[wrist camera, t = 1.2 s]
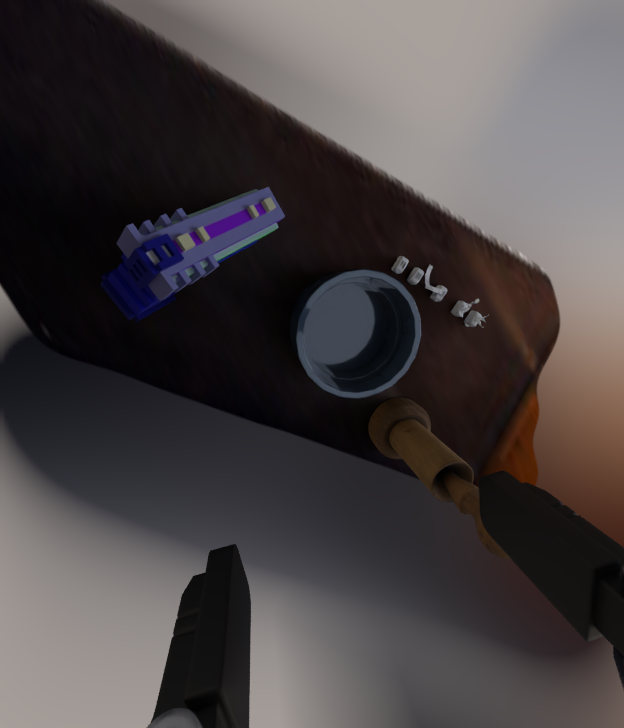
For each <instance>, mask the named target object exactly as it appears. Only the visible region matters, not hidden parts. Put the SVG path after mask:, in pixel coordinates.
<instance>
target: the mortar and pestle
mask: <svg viewBox="0 0 624 728" xmlns="http://www.w3.org/2000/svg"><path fill="white" fill-rule="evenodd" d="M368 430H369V436H370V438H371V440H372V442H373V443H374V444H375V446H376V447H377V448H378V449H379V451H380V452H381V453H382V454H384V455H385V456H387V457H389V458H393V459H403V460H404V461H405V462H406V463H407V464H408V466H409V467H410V468H411V469H412V470H413V471H414V473H415V474H416V475H417V476H418V477H419V479H420V480H421V481H422V482H423V483H424V485H425V486H426V487H427V488H428V489H429V491H430V492H431V493H432V494H433V495H434V497H435V498H437V499H438V500H440V501H442V502H453V501H454V503H455V505H456V506H457V508H458V509H459V510H460V512H462V513H464V514H471V515H472V516H473V517H474V519H475V523H476V528H477V533H478V536H479V538H480V540H481V542H482V544H483V545H484V546H485V547H486V548H487V549H488V550H489V551H490V552H491V553H493V554H495V555H496V556H499V557H501V558H506V559H511V558H510V557H509V556H508V555H507V554H506V553H505V552H504V551H503V550H502V548H501V547H500V546H499V545H498V544H497V543H496V542H495V541H494V540H493V539H492V538H491V536H490V535H489V534H488V533H487V531H486V529H485V528H484V526H483V523H482V521H481V517H480V501H479V488H478V487H476V486H475V485H473V484H472V483H473V478H474V475H473V471H472V468H471V467H470V466H469V465H468V464H467V463H466V462H465V461H463V460H462V459H461V458H460V457H459V456H458V455H456V454H455V453H454V452H453V451H452V450H450V449H449V448H448V447H447V446H446V445H445V444H443V443H442V442H441V441H440V440H439V439H438V438H437V437H435V436H434V435H433V434H432V433H431V432H430V430H431V423H430V419H429V416H428V414H427V413H426V412H425V410H424V409H422V408H421V407H420V406H419V405H417V404H416V403H415V402H414V401H412V400H410V399H407V398H401V397H399V398H392V399H389V400H387V401H385V402H383V403H382V404H381V405H379V406H378V407H377V409H376V410H375V412H374V413H373V414H372V416H371V418H370V421H369V427H368Z"/></svg>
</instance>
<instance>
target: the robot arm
mask: <svg viewBox="0 0 624 728" xmlns="http://www.w3.org/2000/svg"><path fill="white" fill-rule="evenodd" d="M479 501H480V517H481V521H482V523H483V526H484V528H485V529H486V531H487V533H488V534H489V535H490V536H491V538H492V539H493V540H494V541H495V542H496V543H497V544H498V545H499V546H500V547H501V548H502V550H503V551H504V552H505V553H506V554H507V555H508V556H509V557H510V558H511V559H512V560H513V562H514V563H515V564H516V565H517V566H518V567H519V568H520V569H521V570H522V571H523V572H524V574H525V575H526V576H527V577H528V578H529V579H530V580H531V581H532V582H533V583H534V584H535V586H536V587H537V588H538V589H539V590H540V591H541V592H542V593H543V594H544V595H545V597H546V598H547V599H548V600H549V601H550V602H551V603H552V604H553V605H554V606H555V607H556V608H557V610H558V611H559V612H560V613H561V614H562V615H563V616H564V617H565V618H566V619H567V621H569V623H570V624H571V625H572V626H573V627H574V628H575V629H576V630H577V632H578V633H579V634H580V635H581V636H582V637H583V638H584V639H585V640H586V641H587V642H589V641H592V640H595V639H598V638H600V637H603V636H604V637H605V638H606V639H607V640H608V641H609V642H610V643H611V644H612V645H613V655H614V660H615V663H616V667H617V670H618V673H619V677H620V680H621V683H622V687H623V690H624V548H623V547H622V546H621V545H619V544H618V543H617V542H615V541H614V540H613V539H611V538H610V537H608V536H607V535H606V534H604V533H603V532H602V531H600V530H599V529H597V528H596V527H595V526H593V525H592V524H591V523H589V522H588V521H586V520H585V519H584V518H582V517H581V516H579V515H578V516H577V515H576V513H575V512H574V511H573V510H571V509H570V508H569V507H567V506H566V505H563V504H562V502H560V501H559V500H558V499H556V498H555V497H554V496H552V495H551V494H549V493H548V492H547V491H545V490H542V489H540V488H538V487H536V486H533V485H531V484H529V483H521V482H519V481H518V480H517V479H515V478H514V477H513V476H512V475H510V474H509V473H507V472H505V471H500V472H496V473H493V474H489V475H485V476H482V477H480V479H479ZM177 616H178V618H177V620H176V623H175V627H174V632H173V634H174V636H173V637H172V640H171V644H170V649H169V653H168V657H167V662H166V666H165V670H164V674H163V679H162V683H161V688H160V692H159V696H158V700H157V705H156V709H155V712H154V716H153V718H152V721H151V724H150V725H149V726H148V727H147V728H249V692H250V626H251V600H250V591H249V585H248V581H247V577H246V574H245V571H244V568H243V564H242V561H241V558H240V554H239V551H238V548H237V546H236V544H233V545H229V546H226V547H222V548H219V549H215V550H211V551H210V552H209V556H208V562H207V568H206V573H202V574H199V575H195V576H193V578H192V579H191V581H190V582H189V584H188V586H187V588H186V589H185V591H184V593H183V594H182V597H181V602H180V606H179V610H178V615H177Z"/></svg>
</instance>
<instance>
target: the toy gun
mask: <svg viewBox="0 0 624 728" xmlns="http://www.w3.org/2000/svg"><path fill="white" fill-rule="evenodd" d="M284 217H285V215H284V214H283V212H282V210H281V208H280V206H279V205H278V203H277V201H276V199H275V197H274V196H273V194H272V192H271V190H270V188H269V187H267V188H264V189H262V190H259V191H258V190H257V189H254V190H252V191H249V192H246V193H244V194H241V195H239V196H236V197H234V198H231V199H228V200H226V201H223V202H221V203H218V204H216V205H213V206H210V207H208V208H205V209H203V210H200V211H198V212H195V213H192V214H190V215H186V214H185V212H184V211H183V209H182V208H180V209H178V210H176V211H175V213H174V214H173V215H172V217H171V218H170V219H169V217H168V216H167V214H164V215H161V216H160V217H159V219H158V220H157V222H156V223H155V224H154V226H153V225H152V223H151V222H150V220H148V221H145V222H143V223H142V225H141V226H140V228H139V230H137V229H136V227H135V226H134V224H133V223H132V224H130V225H127V226H126V227H125V229H124V231H123V232H122V234H121V236H120V238H119V240H118V241H117V243H116V244H117V245H118V246H119V248H120V249H121V250H122V252H123V254H122V256H121V258H122V259H123V261H124V262H123V263H121V264H120V265H119V267H118V268H116V269H114V270H112V271H109V272H107V273H105V274H103V275H102V277H101V278H102V279H103V281H102V282H101V284H100V285H101V287H102V288H103V289H104V290H105V292H106V293H107V294H108V295H109V297H110V298H111V299H112V300H113V302H114V303H115V304H116V305H117V306H118V308H119V309H120V310H121V311H122V313H123V314H124V315H125V316H126V318H127V319H128V320H131V319H132V318H134V319H135V321H136V322H138V321H140V320H141V319H143V318H145V317H147V316H148V315H150V314H152V313H154V312H155V311H157V310H159V309H161V308H162V307H164V306H166V305H168V304H169V303H171V302H173V301H174V300H175V299H176V298H175V296H174V295H175V294H176V293H177V292H178V291H180V290H181V289H182V288H183V287H185V286H186V285H187V284H189V285H190V284H192V283H194V282H195V281H196V280H198V279H199V278H200V277H202V278H203V277H205V276H207V275H208V274H209V273H210V272H212V271H213V270H214V269H216V268H217V267H218V266H220V265H219V264H218V263H220V262H222V261H224V260H226V259H227V258H229V257H231V256H233V255H235V254H237V253H238V252H240V251H242V250H244V249H246V248H248V247H249V246H251V245H253V244H254V243H256V242H257V241H258V239H260V238H262V237H264V236H266V235H268V234H269V233H271V232H273V231H274V230H276V229H277V228H279V227H278V225H277V222H279V221H280V220H281V219H282V218H284Z"/></svg>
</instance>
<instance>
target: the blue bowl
mask: <svg viewBox="0 0 624 728" xmlns="http://www.w3.org/2000/svg"><path fill="white" fill-rule="evenodd" d="M289 333H290V339H291V345H292V348H293V350H294V352H295V354H296V356H297V358H298V360H299V362H300V363H301V365H302V367H303V369H304V370H305V372H306V374H307V375H308V377H309V378H310V379H312V380H313V381H314V382H315V383H316V384H317V385H318V386H319V387H320V388H321V389H323V390H325V391H327V392H329V393H331V394H334V395H336V396H338V397H346V398H356V399H357V398H363V397H368V396H372V395H376V394H378V393H380V392H382V391H384V390H386V389H387V388H389V387H391V386H392V385H394V384H395V383H396V382H397V381H398V380H399V379H400V378H401V377H402V376H403V375H404V374H405V373H406V372H407V370H408V369H409V367H410V365H411V363H412V362H413V360H414V358H415V357H416V354H417V351H418V347H419V343H420V339H421V323H420V315H419V312H418V309H417V306H416V304H415V301H414V299H413V297H412V296H411V294H410V293H409V292H408V291H407V289H406V288H405V287H404V286H403V285H402V283H400V282H399V281H397V280H396V279H394V278H392V277H391V276H389V275H387V274H386V273H383V272H378V271H373V270H368V269H354V270H343V271H336V272H330V273H328V274H326V275H324V276H322V277H320V278H318V279H316V280H314V281H313V282H312V283H311V284H310V285H309V286H308V287H307V288H306V289H305V290H304V291H303V292H302V293H301V294H300V296H299V298H298V300H297V302H296V304H295V306H294V308H293V310H292V312H291V319H290V325H289Z"/></svg>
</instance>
